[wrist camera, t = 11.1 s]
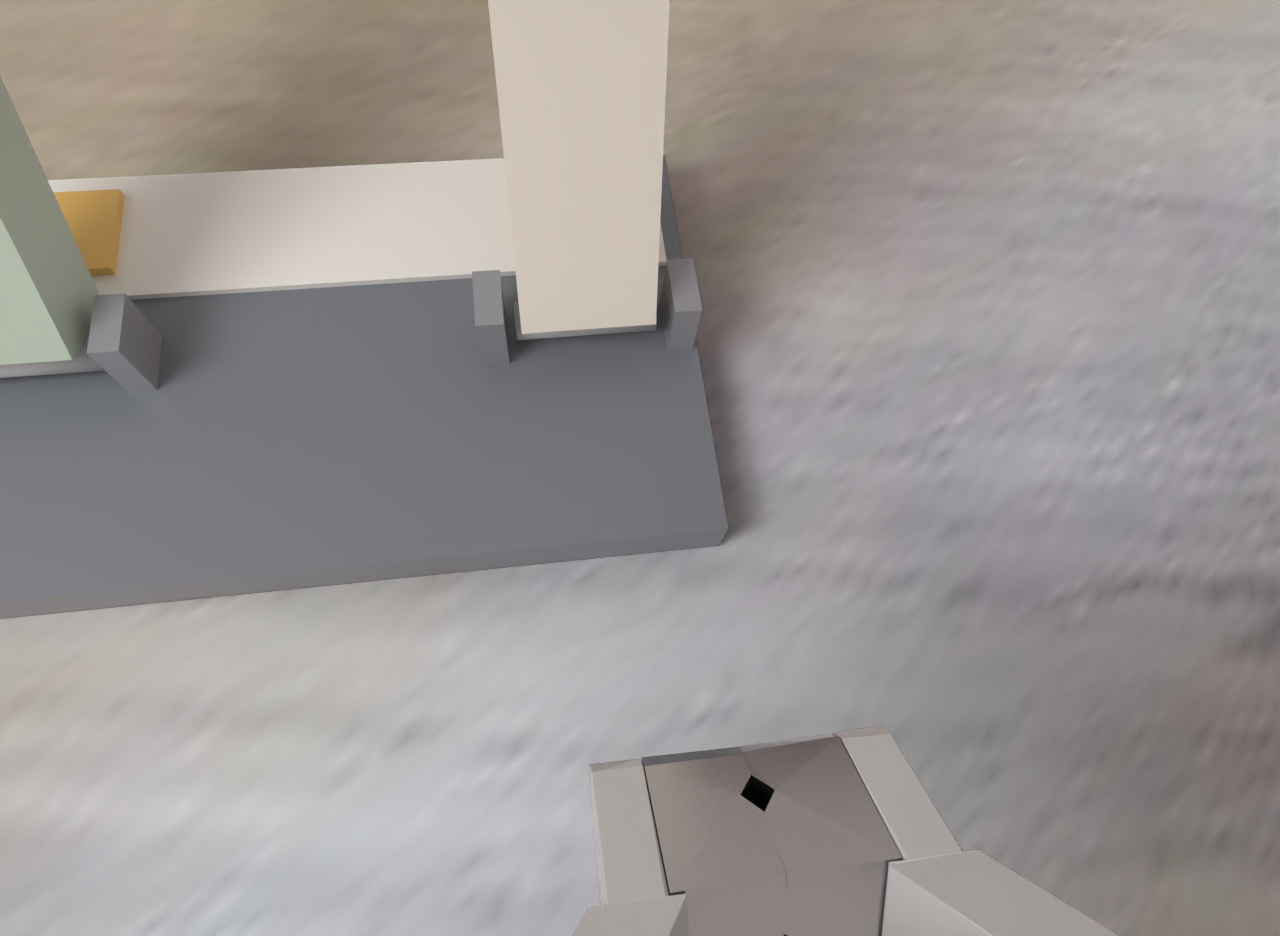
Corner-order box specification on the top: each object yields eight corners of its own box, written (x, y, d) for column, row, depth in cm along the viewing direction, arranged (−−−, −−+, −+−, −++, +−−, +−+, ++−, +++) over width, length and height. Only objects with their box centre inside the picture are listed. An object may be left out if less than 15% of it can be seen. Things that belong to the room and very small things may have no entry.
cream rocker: (660, 354, 22) (700, -473, 12) (519, 365, 22) (427, -483, 11) (647, 300, 24) (671, -469, 13) (515, 309, 24) (431, -477, 13)
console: (718, 545, 23) (742, 502, 20) (-86, 627, 21) (-208, 593, 17) (659, 188, 27) (671, 104, 24) (-10, 223, 25) (-97, 137, 22)
